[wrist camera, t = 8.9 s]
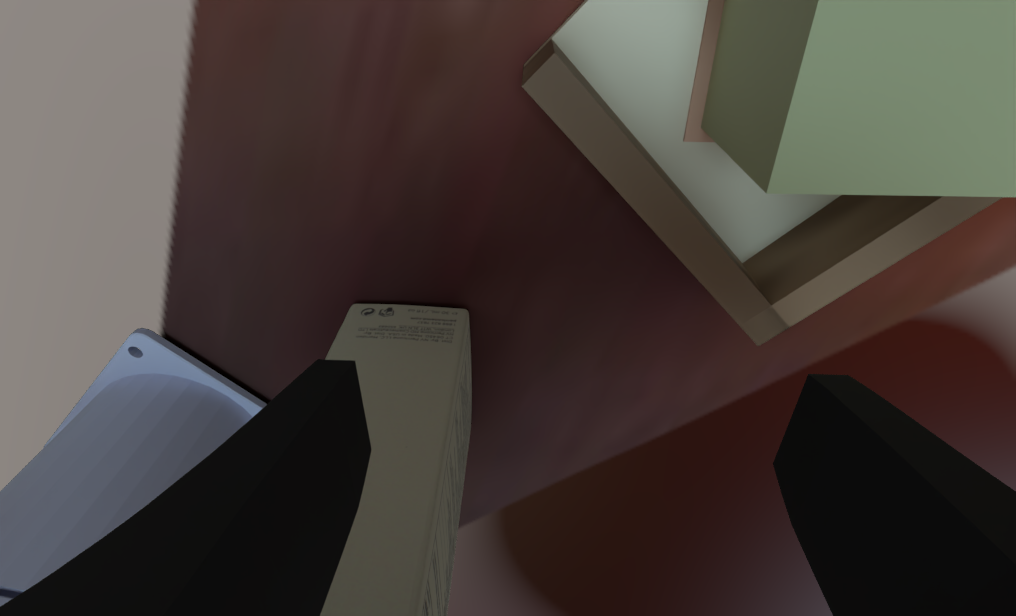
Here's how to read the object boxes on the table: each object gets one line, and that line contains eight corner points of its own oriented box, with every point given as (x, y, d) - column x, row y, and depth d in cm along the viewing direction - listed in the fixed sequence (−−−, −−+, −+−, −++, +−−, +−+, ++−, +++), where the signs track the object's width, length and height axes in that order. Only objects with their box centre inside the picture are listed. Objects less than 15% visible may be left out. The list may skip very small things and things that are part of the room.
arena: (727, 293, 18) (758, 346, 16) (523, 64, 15) (521, 86, 12) (1101, 42, 14) (1226, 60, 11) (940, -372, 10) (1072, -479, 8)
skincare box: (349, 298, 19) (136, 690, 9) (472, 304, 19) (400, 707, 9) (369, 428, 23) (231, 819, 12) (473, 434, 23) (421, 831, 12)
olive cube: (886, 129, 15) (1027, 197, 11) (700, 127, 15) (766, 193, 11) (971, -100, 12) (1206, -132, 8) (743, -100, 12) (854, -131, 8)
